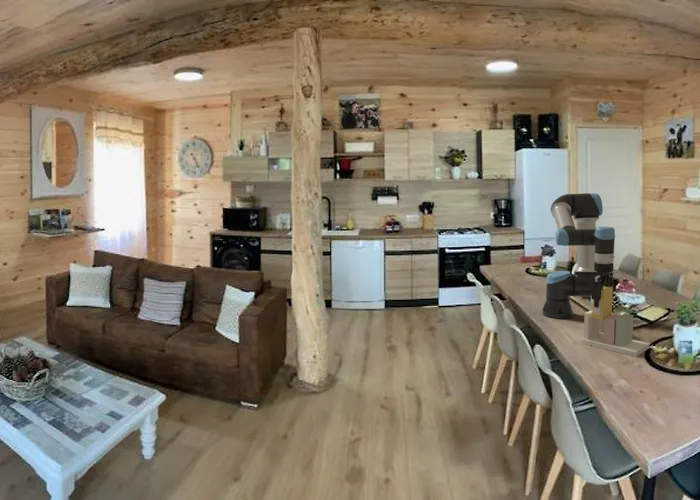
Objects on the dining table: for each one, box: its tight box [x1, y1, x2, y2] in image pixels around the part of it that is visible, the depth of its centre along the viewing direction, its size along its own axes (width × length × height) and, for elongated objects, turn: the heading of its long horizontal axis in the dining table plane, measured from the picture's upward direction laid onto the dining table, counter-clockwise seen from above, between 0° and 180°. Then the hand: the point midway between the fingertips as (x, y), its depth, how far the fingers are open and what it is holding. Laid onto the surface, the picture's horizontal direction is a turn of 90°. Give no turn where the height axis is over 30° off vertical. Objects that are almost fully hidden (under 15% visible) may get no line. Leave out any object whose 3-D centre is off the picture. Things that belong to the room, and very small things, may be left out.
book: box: [591, 286, 614, 319], centre depth 210 cm, size 4×9×13 cm, turn 128°
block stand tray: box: [582, 309, 650, 358], centre depth 208 cm, size 22×14×14 cm, turn 38°
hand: (602, 311), depth 211 cm, fingers closed on book, 9 cm apart
